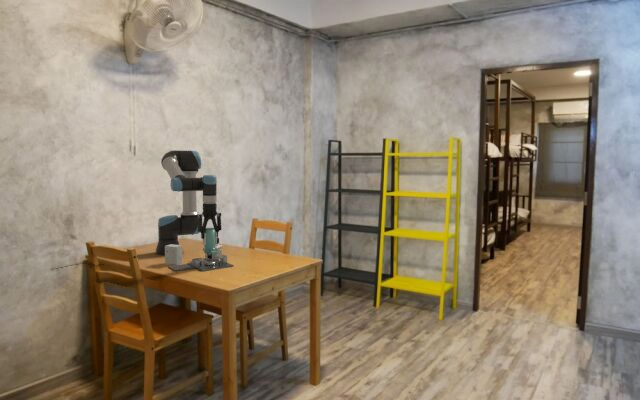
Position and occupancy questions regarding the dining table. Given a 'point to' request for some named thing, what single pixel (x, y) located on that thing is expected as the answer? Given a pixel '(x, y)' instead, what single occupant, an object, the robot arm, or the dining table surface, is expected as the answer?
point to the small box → (173, 254)
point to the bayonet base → (210, 263)
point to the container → (217, 248)
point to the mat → (181, 267)
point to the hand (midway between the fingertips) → (209, 243)
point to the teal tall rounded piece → (210, 241)
